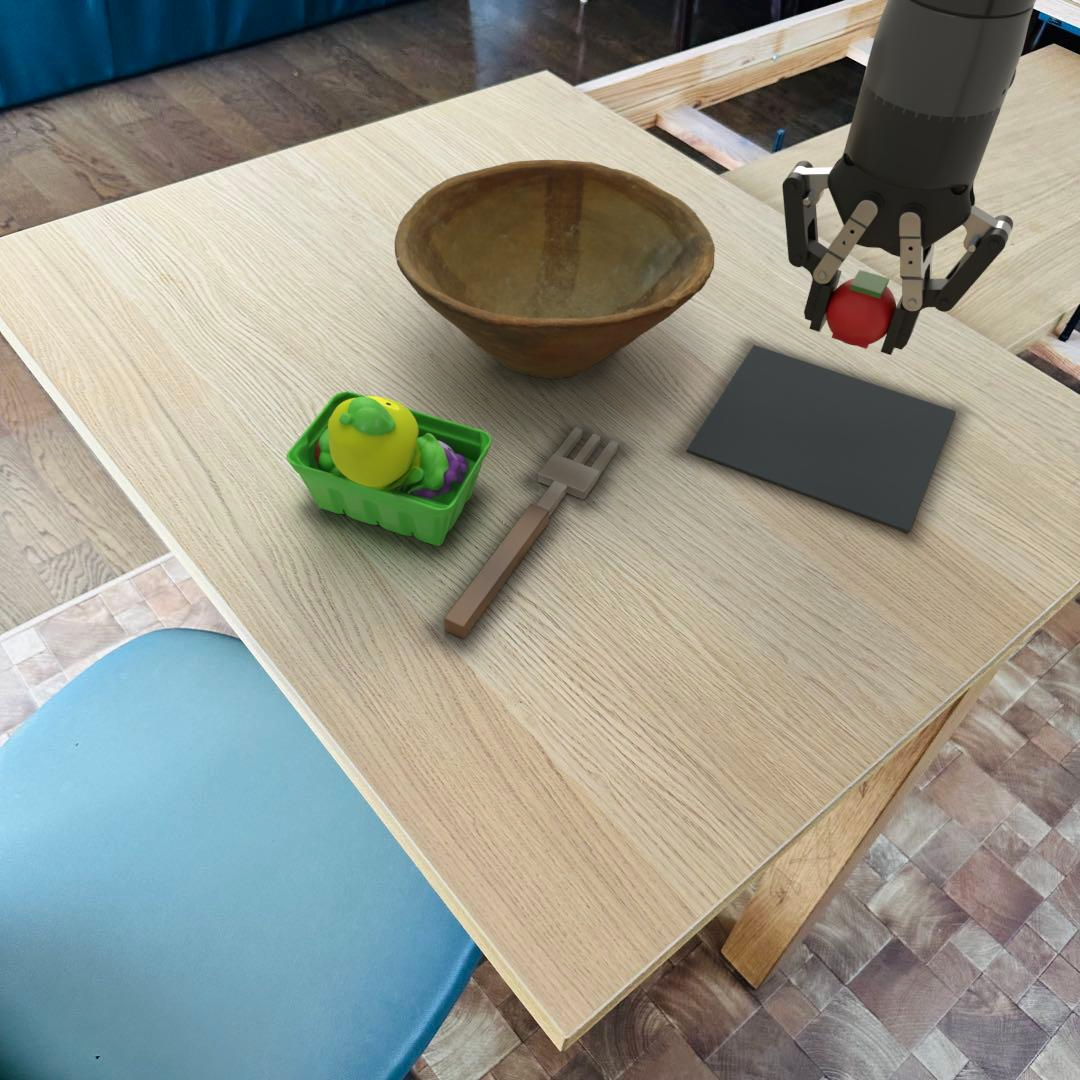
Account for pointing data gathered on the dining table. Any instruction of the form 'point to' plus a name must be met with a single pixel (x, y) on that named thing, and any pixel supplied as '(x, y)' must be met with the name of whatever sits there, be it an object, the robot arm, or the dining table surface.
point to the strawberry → (861, 310)
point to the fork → (530, 526)
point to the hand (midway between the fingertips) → (854, 334)
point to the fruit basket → (390, 465)
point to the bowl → (553, 260)
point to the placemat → (826, 436)
